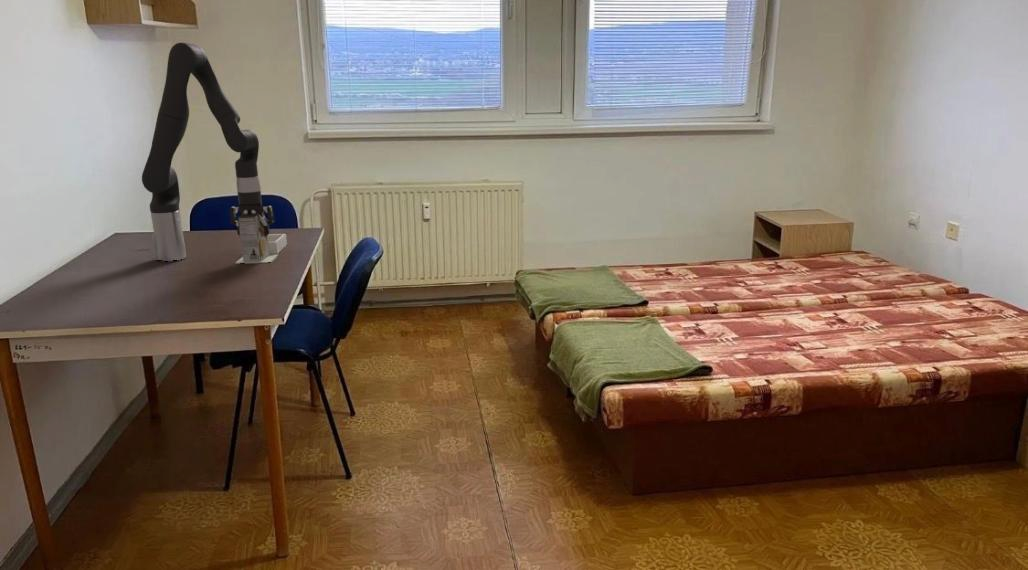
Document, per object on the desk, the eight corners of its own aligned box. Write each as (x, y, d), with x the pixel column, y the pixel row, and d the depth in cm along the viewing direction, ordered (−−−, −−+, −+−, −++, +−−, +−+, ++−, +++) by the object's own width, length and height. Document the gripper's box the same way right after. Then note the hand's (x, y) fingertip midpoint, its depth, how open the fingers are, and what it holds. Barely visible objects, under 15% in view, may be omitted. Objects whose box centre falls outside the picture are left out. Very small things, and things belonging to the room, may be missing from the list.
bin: (248, 255, 263) (246, 242, 261) (258, 246, 276) (257, 234, 274) (277, 254, 263) (276, 242, 262) (287, 245, 276) (285, 233, 275)
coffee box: (252, 255, 260) (246, 211, 256) (270, 255, 260) (264, 210, 256) (242, 261, 252) (237, 216, 247) (261, 261, 252) (255, 215, 247)
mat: (235, 263, 251) (235, 262, 251) (244, 256, 261) (244, 255, 260) (270, 262, 252) (270, 261, 251) (278, 255, 261) (278, 254, 261)
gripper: (224, 192, 245) (229, 239, 250) (266, 191, 246) (272, 238, 250) (231, 188, 252) (236, 234, 257) (272, 187, 253) (277, 233, 258)
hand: (254, 236), depth 254 cm, fingers open, 8 cm apart
